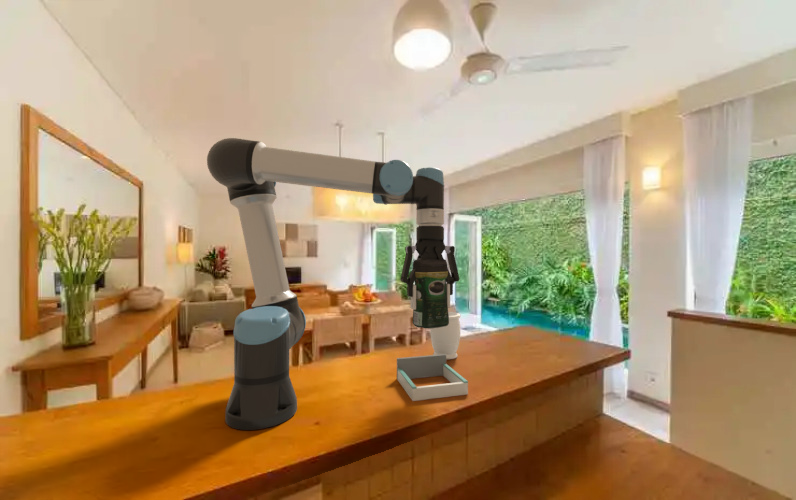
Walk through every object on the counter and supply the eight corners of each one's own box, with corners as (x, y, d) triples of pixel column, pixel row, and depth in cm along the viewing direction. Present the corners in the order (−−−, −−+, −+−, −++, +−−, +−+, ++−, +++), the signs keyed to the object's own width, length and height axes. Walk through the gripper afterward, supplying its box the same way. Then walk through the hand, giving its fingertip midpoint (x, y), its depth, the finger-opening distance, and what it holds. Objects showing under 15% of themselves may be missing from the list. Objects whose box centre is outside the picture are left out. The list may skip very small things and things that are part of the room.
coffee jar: (438, 321, 99) (438, 257, 99) (453, 327, 91) (453, 258, 91) (408, 324, 95) (408, 258, 95) (421, 330, 87) (421, 258, 87)
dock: (412, 401, 84) (412, 376, 84) (396, 378, 98) (396, 358, 98) (467, 394, 88) (467, 371, 88) (444, 373, 102) (444, 354, 102)
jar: (464, 354, 121) (464, 312, 121) (453, 362, 112) (453, 317, 112) (437, 350, 127) (437, 310, 127) (424, 357, 118) (424, 314, 118)
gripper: (395, 223, 87) (395, 312, 86) (472, 225, 92) (472, 308, 92) (388, 226, 94) (388, 307, 94) (460, 227, 100) (460, 304, 99)
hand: (430, 307), depth 93 cm, fingers closed on coffee jar, 9 cm apart
